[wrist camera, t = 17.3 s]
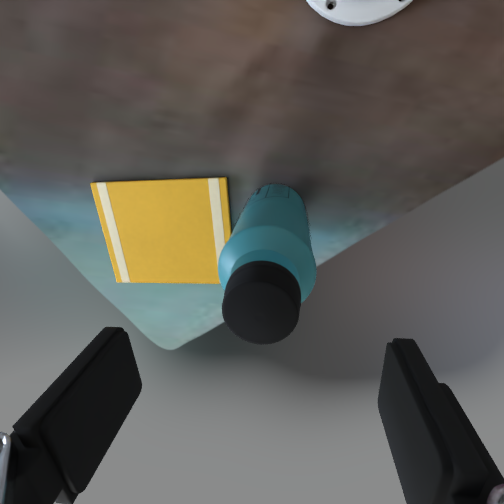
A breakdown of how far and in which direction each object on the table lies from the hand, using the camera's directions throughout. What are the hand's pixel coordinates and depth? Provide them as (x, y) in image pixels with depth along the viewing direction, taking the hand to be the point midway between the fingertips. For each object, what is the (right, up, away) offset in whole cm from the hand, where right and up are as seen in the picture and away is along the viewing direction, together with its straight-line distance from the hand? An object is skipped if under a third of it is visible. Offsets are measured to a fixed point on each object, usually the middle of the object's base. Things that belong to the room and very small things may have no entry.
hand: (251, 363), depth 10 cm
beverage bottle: (+3, +9, +22) cm, 24 cm away
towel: (-10, +6, +25) cm, 27 cm away
